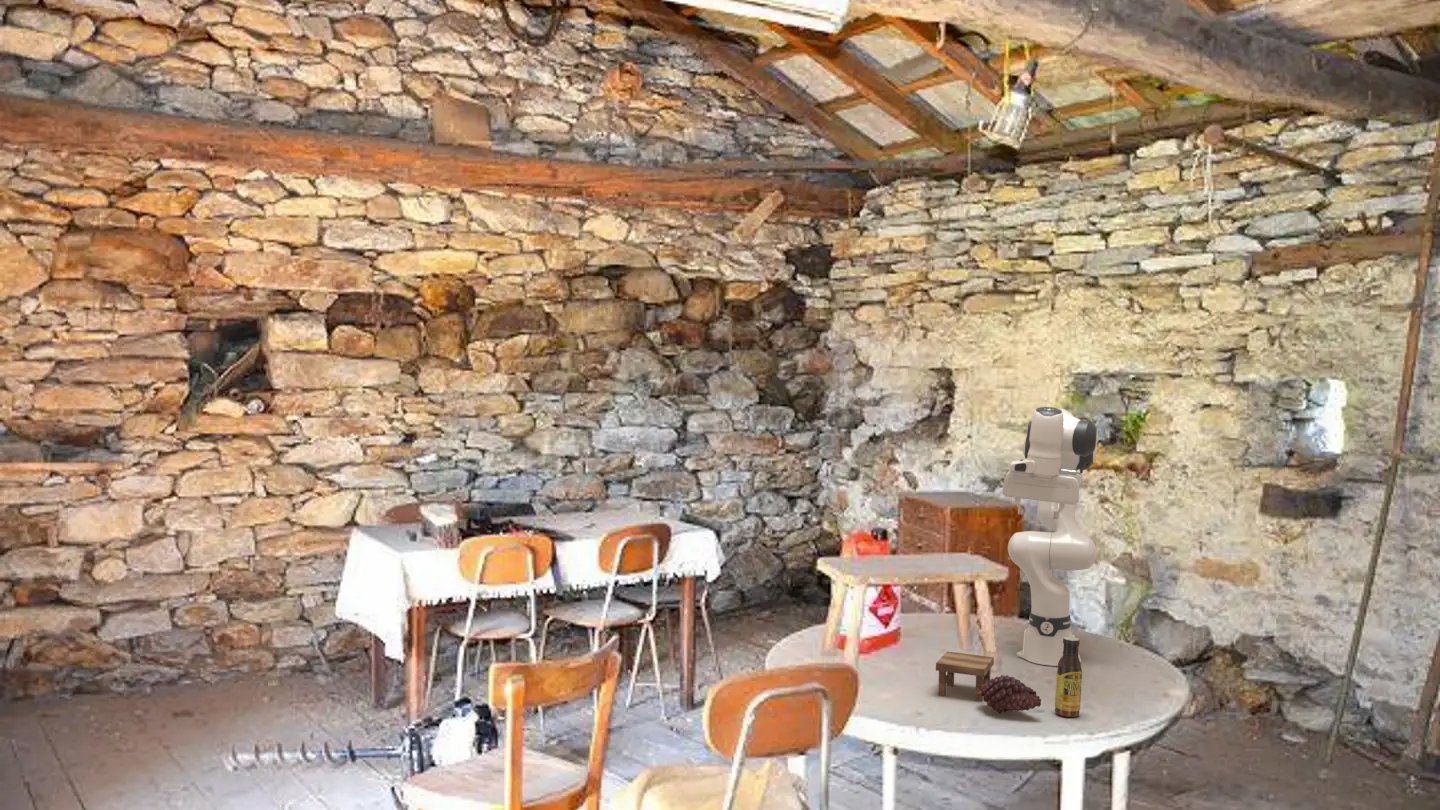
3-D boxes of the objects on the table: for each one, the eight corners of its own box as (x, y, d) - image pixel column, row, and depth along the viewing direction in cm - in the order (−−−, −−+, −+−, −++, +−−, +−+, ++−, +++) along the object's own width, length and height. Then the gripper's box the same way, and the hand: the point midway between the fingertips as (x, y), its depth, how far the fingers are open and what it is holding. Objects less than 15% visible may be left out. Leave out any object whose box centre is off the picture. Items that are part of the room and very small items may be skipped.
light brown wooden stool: (946, 682, 310) (947, 651, 309) (993, 689, 304) (993, 657, 304) (935, 695, 298) (935, 663, 298) (983, 702, 293) (984, 669, 292)
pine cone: (1047, 717, 282) (1048, 678, 281) (1030, 726, 274) (1031, 687, 274) (984, 701, 293) (985, 665, 293) (966, 710, 286) (967, 673, 285)
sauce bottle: (1063, 719, 280) (1065, 642, 279) (1049, 711, 286) (1051, 636, 285) (1085, 717, 282) (1088, 640, 281) (1071, 709, 288) (1074, 634, 287)
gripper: (1082, 469, 300) (1077, 519, 302) (1006, 461, 306) (1001, 509, 308) (1083, 472, 294) (1077, 523, 296) (1004, 464, 300) (999, 513, 302)
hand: (1038, 516), depth 302 cm, fingers open, 8 cm apart
